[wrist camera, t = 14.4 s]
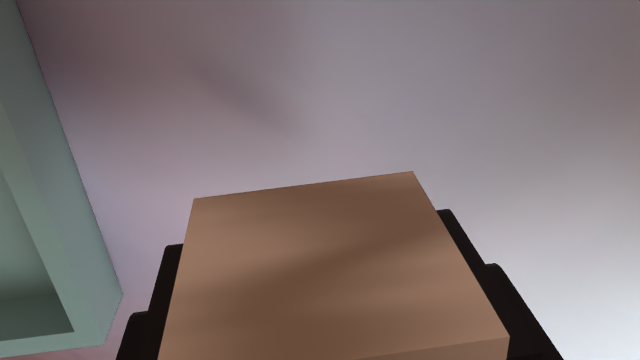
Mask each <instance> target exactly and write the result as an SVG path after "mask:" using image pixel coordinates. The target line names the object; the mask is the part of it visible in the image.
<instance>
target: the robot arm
mask: <svg viewBox="0 0 640 360" xmlns="http://www.w3.org/2000/svg"><path fill="white" fill-rule="evenodd" d="M436 212H437V214H438V215H439V217H440V219H441V220H442V222H443V224H444V225H445V227H446V229H447V231H448V232H449V234H450V236H451V237H452V239H453V241H454V242H455V244H456V246H457V248H458V249H459V251H460V253H461V254H462V256H463V258H464V259H465V261H466V263H467V265H468V266H469V268H470V270H471V271H472V273H473V275H474V276H475V278H476V280H477V282H478V283H479V285H480V287H481V288H482V290H483V292H484V293H485V295H486V297H487V298H488V300H489V302H490V304H491V305H492V307H493V309H494V310H495V312H496V314H497V315H498V317H499V319H500V321H501V322H502V324H503V326H504V327H505V329H506V331H507V332H508V334H509V336H510V339H509V345H508V352H507V358H506V360H564V359H563V358H562V356H561V355H560V353H559V352H558V351H557V349H556V348H555V346H554V345H553V343H552V342H551V340H550V339H549V337H548V336H547V334H546V333H545V331H544V330H543V328H542V327H541V325H540V324H539V322H538V321H537V320H536V318H535V317H534V315H533V314H532V312H531V311H530V309H529V308H528V306H527V305H526V303H525V302H524V300H523V299H522V297H521V296H520V294H519V293H518V291H517V290H516V289H515V287H514V286H513V284H512V283H511V281H510V280H509V278H508V277H507V275H506V274H505V272H504V271H503V269H502V268H501V267H500V266H499V265H497V264H495V263H493V264H485V263H484V262H483V260H482V259H481V257H480V255H479V254H478V252H477V251H476V249H475V248H474V246H473V244H472V243H471V241H470V240H469V238H468V237H467V235H466V233H465V232H464V230H463V229H462V227H461V226H460V224H459V222H458V221H457V219H456V218H455V216H454V215H453V213H452V212H451V210H450V209H444V210H436ZM183 244H184V243H183ZM183 244H176V245H168V246H166V248H165V251H164V254H163V258H162V261H161V265H160V269H159V272H158V276H157V280H156V283H155V287H154V290H153V294H152V298H151V301H150V305H149V309H148V311H144V312H137V313H133V314H132V315H131V316H130V318H129V320H128V323H127V326H126V329H125V332H124V335H123V338H122V342H121V345H120V348H119V351H118V354H117V357H116V360H158V355H159V351H160V346H161V342H162V338H163V333H164V329H165V324H166V320H167V315H168V311H169V307H170V302H171V298H172V293H173V289H174V284H175V280H176V275H177V271H178V267H179V262H180V258H181V253H182V249H183Z"/></svg>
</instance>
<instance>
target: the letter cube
mask: <svg viewBox="0 0 640 360" xmlns="http://www.w3.org/2000/svg"><path fill="white" fill-rule="evenodd" d="M509 339H510V336H509V334H508V332H507V331H506V329H505V327H504V326H503V324H502V322H501V321H500V319H499V317H498V315H497V314H496V312H495V310H494V309H493V307H492V305H491V304H490V302H489V300H488V298H487V297H486V295H485V293H484V292H483V290H482V288H481V287H480V285H479V283H478V282H477V280H476V278H475V276H474V275H473V273H472V271H471V270H470V268H469V266H468V265H467V263H466V261H465V259H464V258H463V256H462V254H461V253H460V251H459V249H458V248H457V246H456V244H455V242H454V241H453V239H452V237H451V236H450V234H449V232H448V231H447V229H446V227H445V225H444V224H443V222H442V220H441V219H440V217H439V215H438V214H437V212H436V210H435V208H434V207H433V205H432V203H431V202H430V200H429V198H428V197H427V195H426V193H425V191H424V190H423V188H422V186H421V185H420V183H419V181H418V180H417V178H416V176H415V174H414V173H413V171H410V172H402V173H394V174H386V175H378V176H370V177H362V178H355V179H347V180H339V181H331V182H323V183H315V184H307V185H299V186H291V187H283V188H275V189H267V190H259V191H251V192H243V193H235V194H227V195H219V196H211V197H203V198H195V199H194V200H193V205H192V209H191V213H190V218H189V222H188V227H187V231H186V236H185V240H184V244H183V249H182V253H181V258H180V262H179V267H178V271H177V275H176V280H175V284H174V289H173V293H172V298H171V302H170V307H169V311H168V315H167V320H166V324H165V329H164V333H163V338H162V342H161V346H160V351H159V355H158V360H506V358H507V352H508V345H509Z"/></svg>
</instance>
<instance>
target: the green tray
mask: <svg viewBox="0 0 640 360" xmlns="http://www.w3.org/2000/svg"><path fill="white" fill-rule="evenodd" d="M122 296H123V292H122V289H121V287H120V284H119V281H118V279H117V276H116V273H115V270H114V268H113V265H112V262H111V259H110V257H109V254H108V251H107V249H106V246H105V243H104V240H103V238H102V235H101V232H100V230H99V227H98V224H97V221H96V219H95V216H94V213H93V210H92V208H91V205H90V202H89V200H88V197H87V194H86V191H85V189H84V186H83V183H82V181H81V178H80V175H79V172H78V170H77V167H76V164H75V161H74V159H73V156H72V153H71V151H70V148H69V145H68V142H67V140H66V137H65V134H64V131H63V129H62V126H61V123H60V121H59V118H58V115H57V112H56V110H55V107H54V104H53V102H52V99H51V96H50V93H49V91H48V88H47V85H46V82H45V80H44V77H43V74H42V72H41V69H40V66H39V63H38V61H37V58H36V55H35V52H34V50H33V47H32V44H31V42H30V39H29V36H28V33H27V31H26V28H25V25H24V23H23V20H22V17H21V14H20V12H19V9H18V6H17V3H16V1H15V0H0V358H3V357H11V356H19V355H27V354H35V353H43V352H51V351H59V350H67V349H75V348H83V347H91V346H98V345H104V343H105V340H106V338H107V335H108V332H109V330H110V327H111V325H112V322H113V319H114V317H115V314H116V312H117V309H118V306H119V304H120V301H121V299H122Z"/></svg>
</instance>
